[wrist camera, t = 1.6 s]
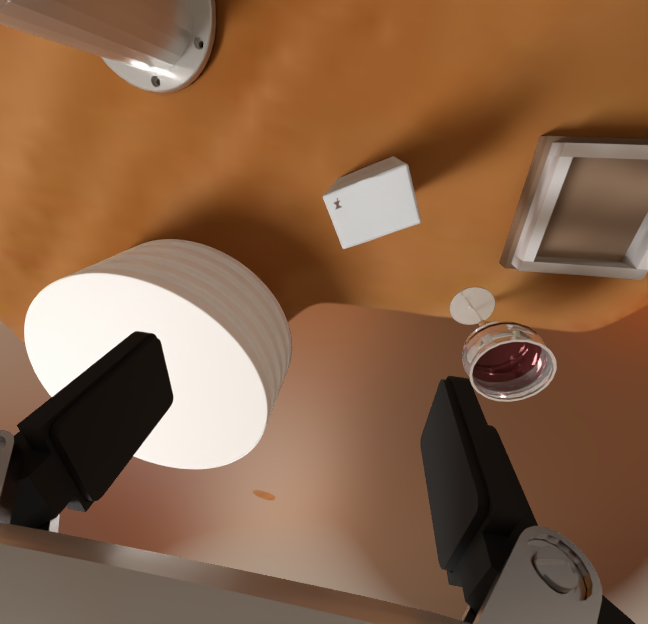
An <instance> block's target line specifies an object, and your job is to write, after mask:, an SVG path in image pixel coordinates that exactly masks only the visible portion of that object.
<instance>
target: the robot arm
mask: <svg viewBox="0 0 648 624" xmlns="http://www.w3.org/2000/svg"><path fill="white" fill-rule="evenodd" d="M0 25H3V26H6V27H9V28H12V29H15V30H19V31H22V32H25V33H28V34H31V35H34V36H38V37H41V38H44V39H47V40H50V41H53V42H57V43H60V44H63V45H66V46H69V47H72V48H76V49H79V50H82V51H85V52H88V53H91V54H94V55H98V56H100V57H101V58H102V59H103V60H104V62H105V63H106V64H107V65H108V66H109V67H110V68H111V69H112V70H113V71H114V72H115V73H116V74H117V75H118V76H119V77H121V78H122V79H124V80H125V81H127V82H128V83H130V84H131V85H134V86H136V87H138V88H141V89H143V90H147V91H151V92H157V93H170V92H176V91H179V90H181V89H183V88H185V87H187V86H188V85H190V84H191V83H192V82H193V81H194V80H196V79H197V77H198V76H199V75H200V73H201V72H202V71H203V69H204V68H205V66H206V64H207V61H208V59H209V57H210V55H211V51H212V47H213V43H214V39H215V29H216V6H215V0H0ZM202 43H204V44H203V48H202V47H201V44H202ZM159 81H160V84H159ZM173 398H174V397H173V392H172V387H171V383H170V379H169V375H168V370H167V366H166V362H165V357H164V353H163V349H162V344H161V341H160V340H159V339H158V338H157V336H156V335H155V334H153V333H147V332H140V331H135V332H133V333H132V334H130V335H129V336H128V337H127V338H125V339H124V340H123V341H122V342H120V343H119V344H118V345H117V346H115V347H114V348H113V349H112V350H110V351H109V352H108V353H107V354H105V355H104V356H103V357H102V358H100V359H99V360H98V361H97V362H95V363H94V364H93V365H92V366H90V367H89V368H88V369H87V370H85V371H84V372H83V373H82V374H80V375H79V376H78V377H77V378H75V379H74V380H73V381H72V382H70V383H69V384H68V385H67V386H65V387H64V388H63V389H62V390H60V391H59V392H58V393H57V394H55V395H54V396H53V397H51V398H50V399H49V400H48V401H47V402H45V403H44V404H43V405H42V406H40V407H39V408H38V409H37V410H35V411H34V412H33V413H31V414H30V415H29V416H28V417H26V418H25V419H24V420H23V421H22V422H20V423H19V424H18V425H17V426H18V428H19V430H20V432H18V433H17V434H16V435H15V436H13V435H12V434H11V433H10V432H8V431H5V430H0V624H635V623H634V622H633V621H632V620H631V619H630V618H628V617H627V616H626V615H625V614H624V613H623V612H621V611H620V610H619V609H618V608H617V607H616V606H614V605H613V604H612V603H611V602H610V601H609V600H607V598H605V597H604V596H603V595H602V587H601V584H600V581H599V577H598V575H597V573H596V571H595V570H594V568H593V566H592V564H591V563H590V561H589V560H588V559H587V558H586V557H585V555H584V554H583V553H582V552H581V550H580V549H579V548H578V547H576V546H575V545H574V544H573V543H572V542H571V541H570V540H568V539H567V538H566V537H564V536H563V535H561V534H559V533H558V532H556V531H554V530H551V529H549V528H546V527H540V526H538V525H537V522H536V520H535V518H534V515H533V513H532V511H531V508H530V506H529V504H528V501H527V499H526V497H525V495H524V492H523V490H522V487H521V485H520V483H519V481H518V478H517V476H516V474H515V471H514V469H513V467H512V464H511V462H510V460H509V457H508V455H507V453H506V450H505V448H504V446H503V444H502V441H501V439H500V436H499V434H498V433H497V430H496V429H495V428H494V427H493V426H490V425H488V424H487V422H486V420H485V417H484V415H483V412H482V410H481V407H480V405H479V402H478V400H477V397H476V395H475V392H474V390H473V387H472V385H471V383H470V381H469V379H467V378H461V377H454V376H448V377H447V379H446V380H441V381H440V383H439V386H438V389H437V392H436V395H435V398H434V401H433V404H432V407H431V409H430V412H429V415H428V418H427V421H426V424H425V427H424V430H423V433H422V436H421V452H422V459H423V465H424V471H425V477H426V484H427V490H428V496H429V503H430V509H431V515H432V522H433V528H434V534H435V541H436V547H437V553H438V560H439V564H440V567H441V568H442V569H444V570H447V575H448V581H449V584H450V585H454V586H459V587H463V592H464V597H465V601H466V602H467V603H468V605H469V606H468V608H467V610H466V612H465V614H464V616H463V618H462V620H461V621H460V620H457V619H454V618H450V617H447V616H443V615H440V614H437V613H433V612H430V611H425V610H421V609H417V608H412V607H408V606H404V605H400V604H395V603H391V602H387V601H382V600H378V599H374V598H370V597H365V596H361V595H356V594H351V593H347V592H342V591H337V590H332V589H328V588H323V587H319V586H314V585H309V584H304V583H299V582H294V581H290V580H286V579H281V578H276V577H271V576H267V575H262V574H257V573H252V572H247V571H243V570H238V569H233V568H228V567H223V566H218V565H214V564H209V563H204V562H199V561H194V560H189V559H185V558H180V557H175V556H170V555H165V554H160V553H155V552H151V551H146V550H141V549H136V548H131V547H126V546H121V545H116V544H110V543H106V542H101V541H96V540H91V539H86V538H81V537H76V536H71V535H66V534H61V533H58V525H59V514H60V513H61V511H62V510H63V509H64V508H65V507H66V506H67V508H68V509H73V510H78V511H83V512H86V511H87V509H89V507H90V506H91V505H92V503H93V502H94V501H97V500H99V499H100V498H101V497H102V496H103V495H104V493H105V492H106V491H107V490H108V488H109V487H110V486H111V484H112V483H113V482H114V480H115V479H116V478H117V476H118V475H119V474H120V473H121V471H122V470H123V469H124V467H125V466H126V465H127V463H128V462H129V460H130V459H131V458H132V457H133V455H134V454H135V453H136V452H137V450H138V449H139V448H140V446H141V445H142V444H143V442H144V441H145V440H146V438H147V437H148V436H149V434H150V433H151V432H152V431H153V429H154V428H155V427H156V425H157V424H158V423H159V421H160V420H161V419H162V417H163V416H164V415H165V413H166V412H167V411H168V409H169V408H170V407H171V405H172V403H173Z"/></svg>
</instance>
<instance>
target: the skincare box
mask: <svg viewBox="0 0 648 624" xmlns="http://www.w3.org/2000/svg"><path fill="white" fill-rule="evenodd" d="M323 199H324V202H325V204H326V207H327V209H328V212H329V214H330V217H331V219H332V222H333V225H334V227H335V230H336V233H337V235H338V238H339V240H340V243H341V246H342V248H343V249H346V248H349V247H352V246H355V245H358V244H361V243H364V242H367V241H370V240H373V239H376V238H379V237H381V236H384V235H387V234H390V233H393V232H396V231H398V230H401V229H404V228H407V227H410V226H413V225H416V224H419V223H421V220H420V215H419V210H418V205H417V201H416V196H415V192H414V187H413V183H412V178H411V174H410V170H409V166H408V164H406V163H404V162H403V161H401V160H399V159H398V158H396V157H394V156H392V157H390V158H387V159H385V160H382V161H379V162H377V163H374V164H372V165H370V166H367V167H365V168H362V169H360V170H357V171H355V172H353V173H350V174H348V175H345V176H343V177H340V178H338V179H337V180H336V182H335V183H334V184H333V185H332V186H331V187H330V189H329V190H328V191H327V192H326V193H325V194H324V196H323Z"/></svg>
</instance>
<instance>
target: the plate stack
mask: <svg viewBox="0 0 648 624" xmlns="http://www.w3.org/2000/svg"><path fill="white" fill-rule="evenodd" d="M135 331H140V332H147V333H153V334H155V335H156V336H157V338H158V339H159V340H160V341H161V344H162V349H163V353H164V357H165V362H166V366H167V370H168V375H169V379H170V383H171V387H172V392H173V397H174V398H173V403H172V405H171V407H170V408H169V409H168V411H167V412H166V413H165V415H164V416H163V417H162V419H161V420H160V421H159V423H158V424H157V425H156V427H155V428H154V429H153V431H152V432H151V433H150V434H149V436H148V437H147V438H146V440H145V441H144V442H143V444H142V445H141V446H140V448H139V449H138V450H137V452H136V453H135V454H134V455H133V456H134V457H137V458H139V459H142V460H146V461H148V462H152V463H155V464H159V465H163V466H168V467H174V468H182V469H208V468H215V467H219V466H223V465H227V464H230V463H232V462H234V461H236V460H238V459H240V458H242V457H243V456H245V455H246V454H247V453H249V452H250V451H251V450H252V449H253V448H254V447H255V446H256V445H257V443H258V442H259V441H260V439H261V437H262V435H263V433H264V430H265V428H266V425H267V423H268V419H269V417H270V415H271V412H272V410H273V407H274V403H275V401H276V399H277V396H278V394H279V391H280V388H281V386H282V383H283V380H284V378H285V375H286V372H287V370H288V367H289V364H290V360H291V354H292V339H291V333H290V328H289V325H288V322H287V319H286V317H285V314H284V312H283V310H282V308H281V306H280V305H279V303H278V301H277V300H276V298H275V297H274V295H273V294H272V292H271V291H270V290H269V289H268V287H267V286H266V285H265V284H264V283H263V282H262V281H261V280H260V279H259V278H258V277H257V276H256V275H255V274H254V273H253V272H252V271H251V270H250V269H248V268H247V267H246V266H244V265H243V264H242V263H240V262H239V261H237V260H236V259H234V258H232V257H231V256H229V255H227V254H225V253H223V252H221V251H219V250H217V249H215V248H212V247H210V246H207V245H204V244H200V243H197V242H192V241H187V240H179V239H161V240H154V241H149V242H146V243H143V244H140V245H137V246H135V247H133V248H131V249H129V250H126V251H124V252H121V253H119V254H117V255H115V256H113V257H110V258H107V259H105V260H103V261H101V262H98V263H96V264H94V265H91V266H89V267H87V268H84V269H82V270H80V271H78V272H76V273H73V274H71V275H68V276H66V277H64V278H61V279H59V280H57V281H55V282H53V283H51V284H50V285H48V286H47V287H45V288H44V289H43V290H42V291H41V292H40V293H39V294H38V295H37V296H36V297H35V299H34V300H33V302H32V303H31V305H30V307H29V309H28V312H27V315H26V319H25V326H24V336H25V344H26V349H27V352H28V356H29V359H30V361H31V364H32V366H33V368H34V371H35V373H36V375H37V376H38V378H39V380H40V381H41V383H42V384H43V386H44V387H45V389H46V390H47V392H48V393H49V394H50V396H51V397H53V396H54V395H55V394H57V393H58V392H59V391H60V390H62V389H63V388H64V387H65V386H67V385H68V384H69V383H70V382H72V381H73V380H74V379H75V378H77V377H78V376H79V375H80V374H82V373H83V372H84V371H85V370H87V369H88V368H89V367H90V366H92V365H93V364H94V363H95V362H97V361H98V360H99V359H100V358H102V357H103V356H104V355H105V354H107V353H108V352H109V351H110V350H112V349H113V348H114V347H115V346H117V345H118V344H119V343H120V342H122V341H123V340H124V339H125V338H127V337H128V336H129V335H130V334H132V333H133V332H135Z"/></svg>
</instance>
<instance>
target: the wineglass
mask: <svg viewBox="0 0 648 624" xmlns="http://www.w3.org/2000/svg"><path fill="white" fill-rule="evenodd" d="M494 307H495V300H494V297H493V295H492V294H491V293H490V292H489V291H487V290H486V289H483V288H480V287H472V288H468V289H465V290H463V291H461V292H459V293H458V294H457V295H456V296H455V297H454V298H453V300H452V302H451V304H450V312H451V315H452V317H453V318H454V319H455V320H456V321H458V322H459V323H462V324H476V323H479V325H480V328H478V329H476V330H475V331H474V332H473V333H472V334H471V335H469V337H468V339H467V341H466V342H465V344H464V348H463V354H462V359H463V364H464V369H465V371H466V372H467V374H468V375H469V376H470V380H471V384H472V386H473V387H474V388H475V390H476V391H477V392H478V393H480V394H481V395H483V396H484V397H486V398H489V399H492V400H496V401H509V402H510V401H516V400H523V399H525V398H527V397H530V396H533V395H535V394H537V393H538V392H540V391H541V390H543V389H544V388H545V387H546V386H547V385H548V384H549V383H550V382H551V380H552V379H553V377H554V374H555V372H556V359H555V357H554V355H553V354H552V352H551V351H550V350H549V349H548V348H546V347H545V344H544V343H543V341H542V340H541V338H540V336H539V335H537V333H536V332H534V331H533V330H532V329H530V328H529V327H527V326H525V325H521V324H518V323H515V322H511V321H497V322H492V323H488V324H486V323H485V321H484V320H485V319H487V318H488V317H489V316H490V315H491V313H492V312H493V310H494Z"/></svg>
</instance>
